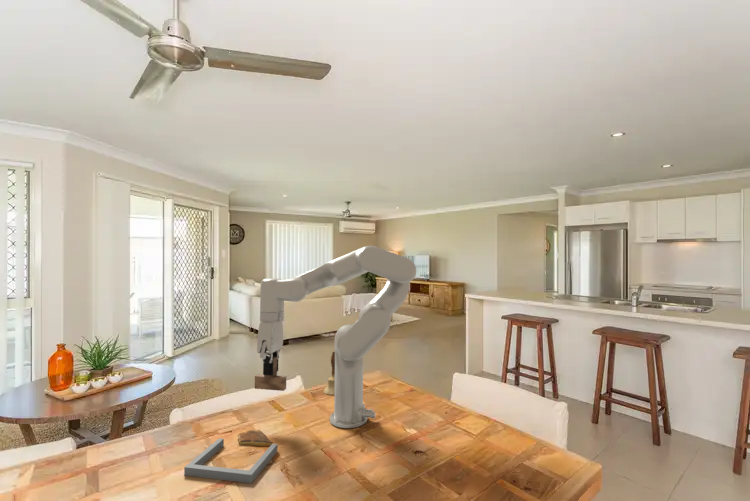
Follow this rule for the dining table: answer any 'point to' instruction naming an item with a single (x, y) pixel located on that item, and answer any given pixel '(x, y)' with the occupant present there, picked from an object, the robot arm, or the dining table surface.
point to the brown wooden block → (271, 380)
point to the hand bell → (331, 378)
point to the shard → (254, 438)
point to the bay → (237, 475)
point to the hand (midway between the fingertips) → (270, 372)
